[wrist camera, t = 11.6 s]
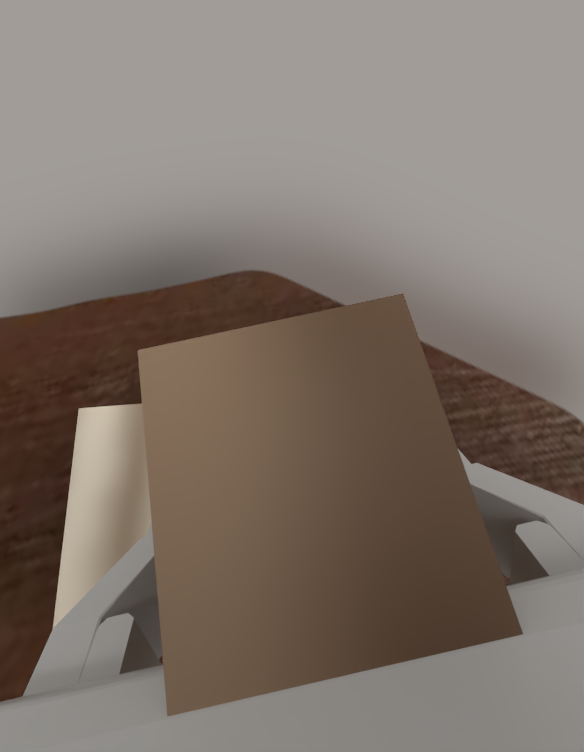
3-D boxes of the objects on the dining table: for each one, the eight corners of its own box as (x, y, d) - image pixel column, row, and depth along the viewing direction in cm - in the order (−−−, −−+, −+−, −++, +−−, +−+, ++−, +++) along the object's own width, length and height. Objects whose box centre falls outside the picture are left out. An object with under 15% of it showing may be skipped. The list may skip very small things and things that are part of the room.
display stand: (82, 632, 22) (50, 651, 20) (103, 418, 27) (78, 408, 24) (419, 610, 22) (436, 626, 19) (386, 396, 26) (396, 383, 23)
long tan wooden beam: (274, 580, 14) (173, 785, 4) (251, 447, 16) (136, 340, 6) (377, 557, 14) (546, 697, 4) (343, 426, 16) (400, 285, 6)
